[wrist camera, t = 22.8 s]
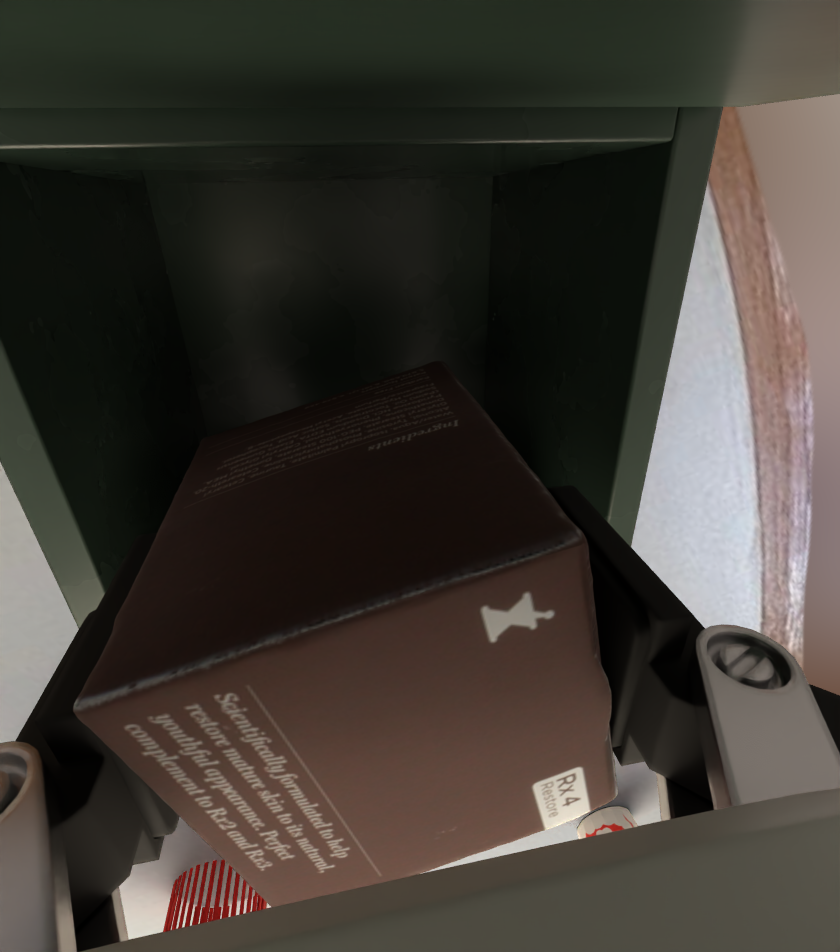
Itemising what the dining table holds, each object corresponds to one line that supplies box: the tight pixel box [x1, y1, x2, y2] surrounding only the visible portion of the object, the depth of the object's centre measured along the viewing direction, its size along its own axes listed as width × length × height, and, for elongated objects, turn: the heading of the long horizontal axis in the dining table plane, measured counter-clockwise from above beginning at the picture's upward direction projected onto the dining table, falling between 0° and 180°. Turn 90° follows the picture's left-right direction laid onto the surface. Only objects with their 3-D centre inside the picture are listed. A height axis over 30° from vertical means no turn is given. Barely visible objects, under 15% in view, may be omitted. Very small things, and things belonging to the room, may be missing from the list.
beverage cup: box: [577, 806, 638, 839], centre depth 34 cm, size 6×6×14 cm
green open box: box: [0, 107, 723, 628], centre depth 15 cm, size 14×13×11 cm
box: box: [73, 361, 618, 907], centre depth 10 cm, size 6×6×7 cm
